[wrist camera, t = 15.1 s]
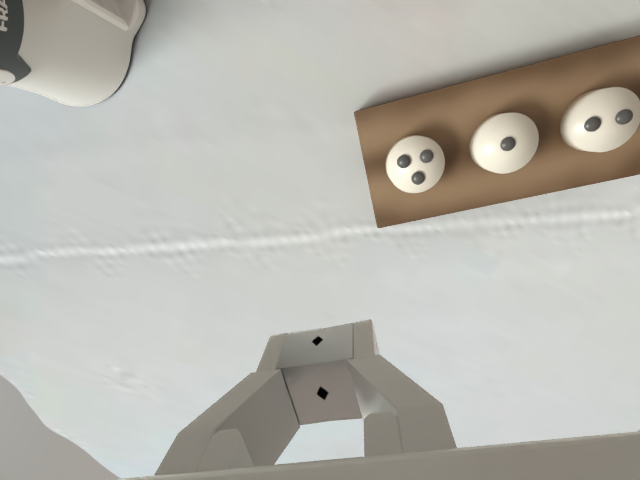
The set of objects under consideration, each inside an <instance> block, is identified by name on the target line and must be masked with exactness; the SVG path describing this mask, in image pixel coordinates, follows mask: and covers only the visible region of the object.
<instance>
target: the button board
mask: <svg viewBox="0 0 640 480" xmlns="http://www.w3.org/2000/svg"><path fill="white" fill-rule="evenodd" d="M611 87H622V88H626V89H628V90H630V91H632V92H633V93H634V94H636V96H637V97H638V98H639V100H640V36H636V37H632V38H629V39H625V40H621V41H617V42H614V43H610V44H606V45H602V46H599V47H595V48H591V49H587V50H584V51H580V52H576V53H573V54H569V55H565V56H561V57H558V58H554V59H550V60H546V61H543V62H539V63H535V64H531V65H528V66H524V67H520V68H516V69H513V70H509V71H505V72H501V73H498V74H494V75H490V76H487V77H483V78H479V79H475V80H472V81H468V82H464V83H460V84H457V85H453V86H449V87H445V88H442V89H438V90H434V91H430V92H427V93H423V94H419V95H415V96H412V97H408V98H404V99H401V100H397V101H393V102H389V103H386V104H382V105H378V106H374V107H371V108H367V109H363V110H359V111H356V112H354V115H355V120H356V125H357V130H358V135H359V139H360V144H361V149H362V154H363V159H364V164H365V169H366V174H367V179H368V184H369V189H370V194H371V199H372V204H373V209H374V214H375V219H376V223H377V227H378V228H382V227H387V226H391V225H396V224H401V223H406V222H411V221H416V220H421V219H425V218H430V217H435V216H440V215H445V214H450V213H454V212H459V211H464V210H469V209H474V208H479V207H484V206H488V205H493V204H498V203H503V202H508V201H513V200H517V199H522V198H527V197H532V196H537V195H542V194H547V193H551V192H556V191H561V190H566V189H571V188H576V187H580V186H585V185H590V184H595V183H600V182H605V181H610V180H614V179H619V178H624V177H629V176H634V175H639V174H640V123H639V126H638V128H637V130H636V131H635V133H634V134H633V135H632V137H631V138H630V139H629V140H628V141H626V142H625V143H624V144H623V145H621V146H619V147H618V148H616V149H613V150H610V151H607V152H590V151H580V150H576V149H573V148H571V147H569V146H568V145H567V144H566V143H565V142H564V140H563V139H562V136H561V133H560V123H561V119H562V116H563V113H564V112H565V110H566V108H567V107H568V105H569V104H570V103H571V102H572V101H573V100H574V99H576V98H577V97H578V96H580V95H582V94H583V93H586V92H588V91H592V90H598V89H604V88H611ZM501 113H520V114H523V115H525V116H527V117H529V118H530V119H531V120H532V121H533V122H534V123H535V125H536V127H537V129H538V134H539V142H538V147H537V150H536V152H535V154H534V156H533V157H532V158H531V160H530V161H529V162H528V163H527V164H526V165H525V166H523V167H522V168H520V169H518V170H516V171H514V172H511V173H506V174H500V173H494V172H491V171H488V170H485V169H482V168H481V167H479V166H478V165H477V164H476V163H475V162H474V161H473V160H472V158H471V155H470V151H469V142H470V138H471V135H472V133H473V131H474V130H475V128H476V127H477V126H478V125H479V124H480V123H481V122H482V121H483V120H484V119H486V118H488V117H490V116H492V115H495V114H501ZM412 135H417V136H424V137H428V138H430V139H432V140H434V141H435V142H436V143H437V144H438V145H439V146H440V147H441V149H442V151H443V154H444V158H445V167H444V171H443V174H442V176H441V178H440V179H439V181H438V182H437V183H436V184H435V185H434V186H433V187H431V188H430V189H428V190H426V191H424V192H420V193H408V192H404V191H402V190H400V189H399V188H397V187H396V186H395V185H394V184H393V183H392V181H391V180H390V179H389V177H388V175H387V172H386V167H385V162H386V157H387V154H388V152H389V150H390V148H391V147H392V146H393V145H394V144H395V143H396V142H397V141H398V140H400V139H402V138H404V137H407V136H412Z"/></svg>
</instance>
